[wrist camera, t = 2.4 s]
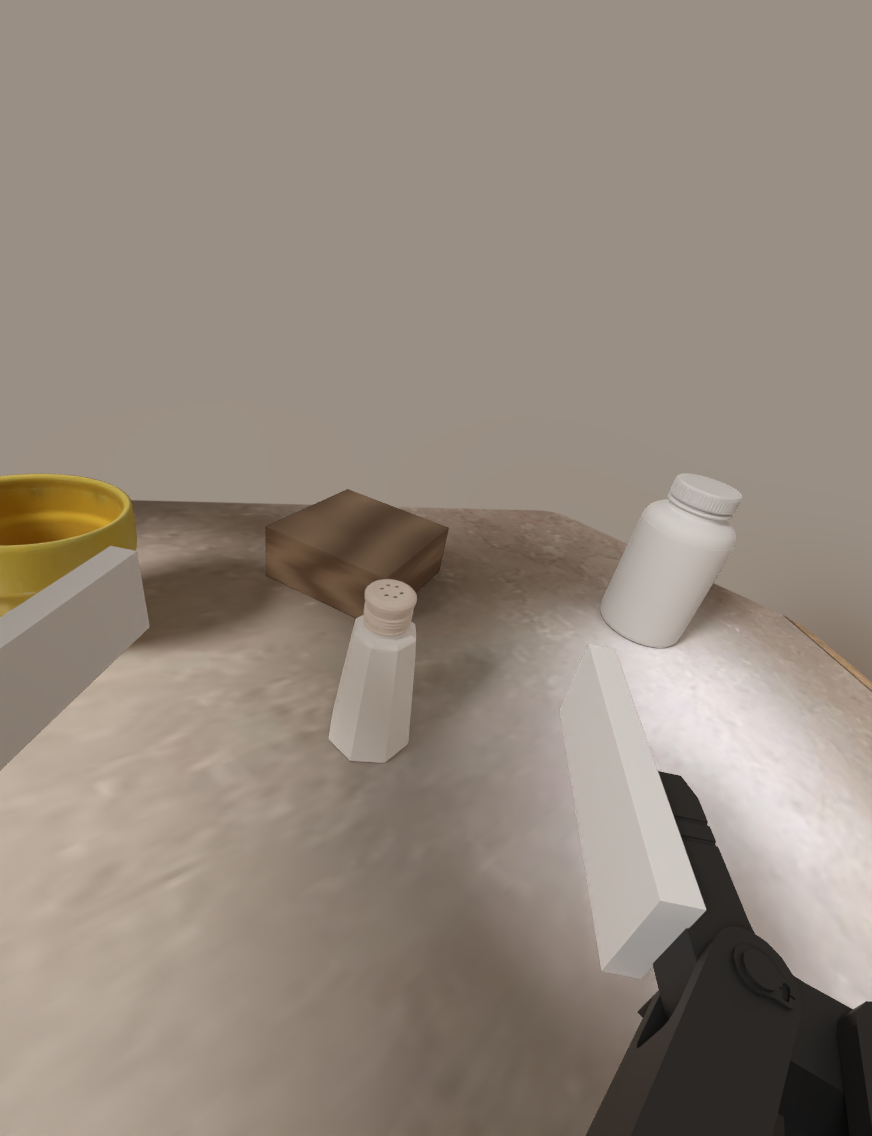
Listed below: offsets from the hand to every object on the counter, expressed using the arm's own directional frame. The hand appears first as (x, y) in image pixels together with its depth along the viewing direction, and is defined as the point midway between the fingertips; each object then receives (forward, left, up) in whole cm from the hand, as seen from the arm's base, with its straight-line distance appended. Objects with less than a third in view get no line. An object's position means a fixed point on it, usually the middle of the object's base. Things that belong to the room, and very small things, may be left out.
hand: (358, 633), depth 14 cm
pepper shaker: (-4, +9, -16) cm, 19 cm away
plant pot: (-26, +4, -16) cm, 31 cm away
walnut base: (-15, +24, -16) cm, 33 cm away
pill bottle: (+11, +35, -16) cm, 41 cm away
